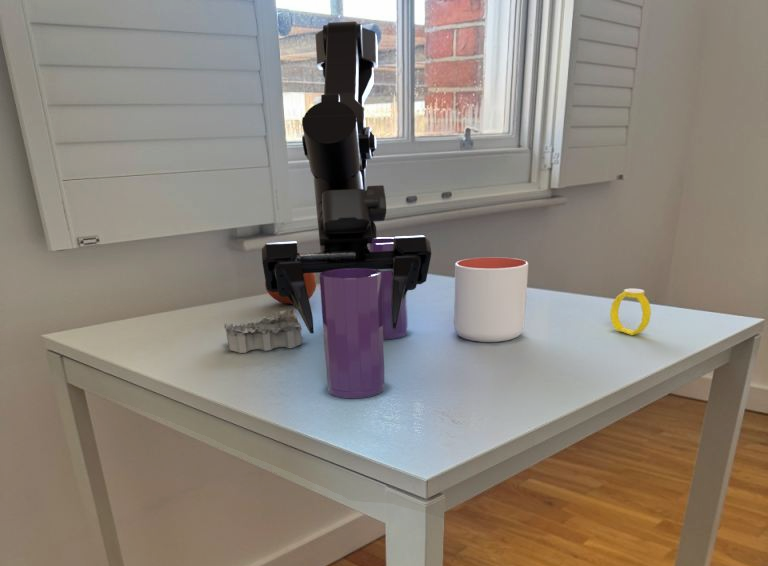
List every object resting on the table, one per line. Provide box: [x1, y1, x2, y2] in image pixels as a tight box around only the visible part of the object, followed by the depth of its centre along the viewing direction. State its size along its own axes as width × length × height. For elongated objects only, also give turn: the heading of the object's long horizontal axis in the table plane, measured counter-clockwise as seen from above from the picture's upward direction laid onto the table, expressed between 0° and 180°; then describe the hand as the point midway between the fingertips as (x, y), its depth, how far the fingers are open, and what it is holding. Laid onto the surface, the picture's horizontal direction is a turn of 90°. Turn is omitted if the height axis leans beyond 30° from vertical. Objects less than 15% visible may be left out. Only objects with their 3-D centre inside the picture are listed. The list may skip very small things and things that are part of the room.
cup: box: [453, 256, 529, 343], centre depth 99 cm, size 10×10×10 cm
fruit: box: [264, 273, 317, 305], centre depth 123 cm, size 9×9×8 cm
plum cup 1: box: [319, 268, 386, 399], centre depth 78 cm, size 7×7×13 cm
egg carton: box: [224, 308, 303, 354], centre depth 99 cm, size 11×8×4 cm
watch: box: [609, 287, 652, 336], centre depth 98 cm, size 6×3×6 cm, turn 32°
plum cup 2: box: [370, 237, 408, 341], centre depth 100 cm, size 7×7×13 cm
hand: (353, 329), depth 77 cm, fingers open, 9 cm apart
